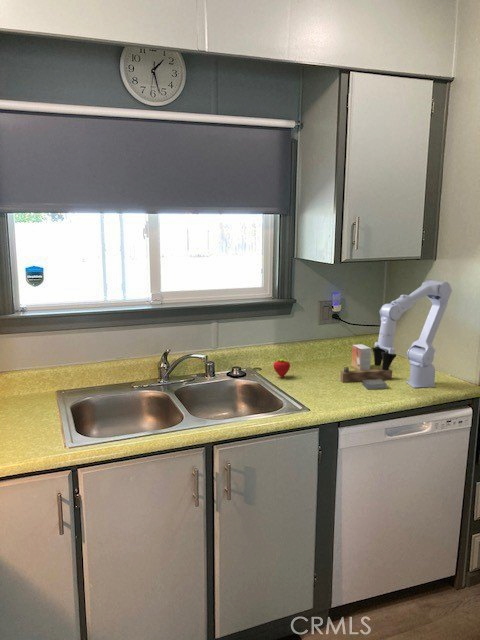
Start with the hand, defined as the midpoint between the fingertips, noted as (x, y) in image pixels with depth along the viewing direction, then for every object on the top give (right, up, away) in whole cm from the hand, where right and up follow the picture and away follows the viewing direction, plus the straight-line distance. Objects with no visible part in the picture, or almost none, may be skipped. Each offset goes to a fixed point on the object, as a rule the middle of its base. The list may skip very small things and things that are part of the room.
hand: (381, 367), depth 212 cm
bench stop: (-2, -7, +18) cm, 19 cm away
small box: (0, -4, +35) cm, 35 cm away
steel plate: (0, -9, +9) cm, 13 cm away
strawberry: (-38, -6, +23) cm, 45 cm away
